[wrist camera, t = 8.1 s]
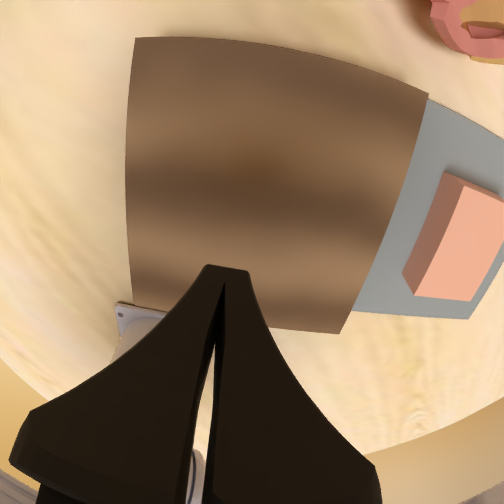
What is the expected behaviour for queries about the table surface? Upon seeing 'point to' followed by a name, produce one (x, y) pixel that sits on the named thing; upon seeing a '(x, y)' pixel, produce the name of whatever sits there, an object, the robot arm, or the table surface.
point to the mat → (417, 207)
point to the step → (262, 173)
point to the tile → (456, 241)
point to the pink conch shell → (471, 27)
